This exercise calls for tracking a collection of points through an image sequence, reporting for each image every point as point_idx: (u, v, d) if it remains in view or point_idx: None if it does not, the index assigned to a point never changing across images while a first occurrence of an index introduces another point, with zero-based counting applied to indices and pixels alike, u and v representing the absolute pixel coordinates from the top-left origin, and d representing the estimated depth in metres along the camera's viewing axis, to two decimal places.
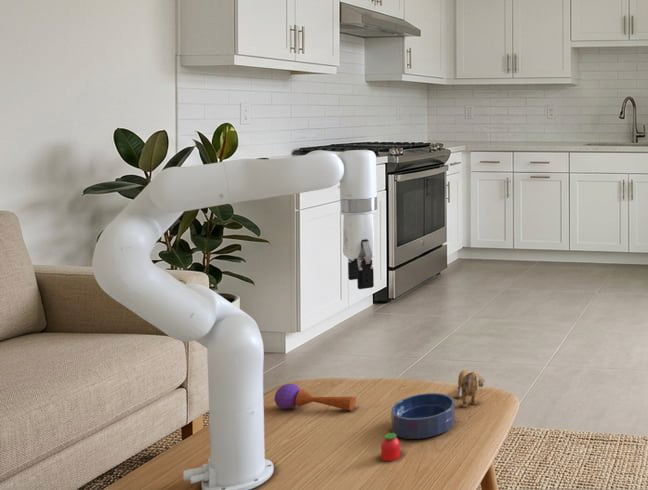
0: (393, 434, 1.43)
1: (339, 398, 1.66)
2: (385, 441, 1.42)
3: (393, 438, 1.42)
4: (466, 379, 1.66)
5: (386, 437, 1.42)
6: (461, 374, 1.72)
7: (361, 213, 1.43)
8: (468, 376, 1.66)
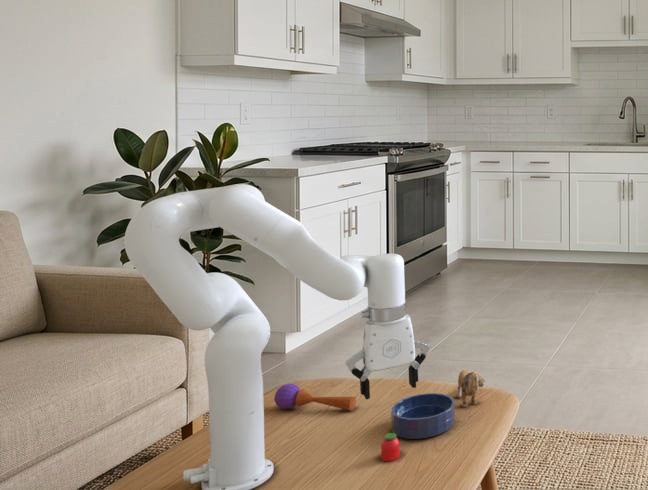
0: (393, 434, 1.43)
1: (339, 398, 1.66)
2: (385, 441, 1.42)
3: (393, 438, 1.42)
4: (466, 379, 1.66)
5: (386, 437, 1.42)
6: (461, 374, 1.72)
7: None
8: (468, 376, 1.66)
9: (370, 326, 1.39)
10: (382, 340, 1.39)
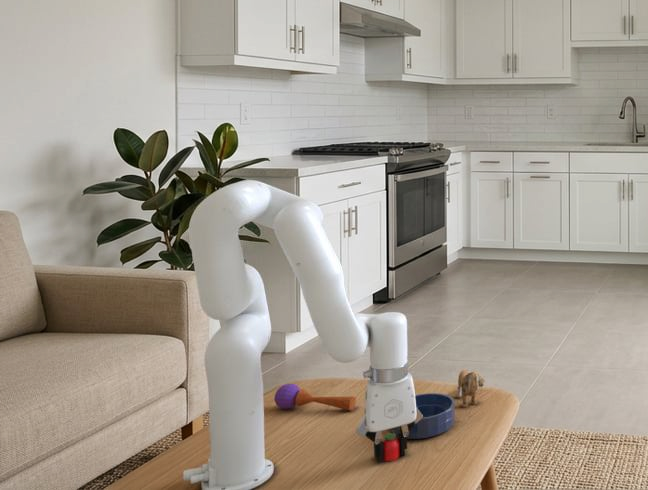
0: (393, 434, 1.43)
1: (339, 398, 1.66)
2: (385, 441, 1.42)
3: (393, 438, 1.42)
4: (466, 379, 1.66)
5: (386, 437, 1.42)
6: (461, 374, 1.72)
7: None
8: (468, 376, 1.66)
9: (372, 387, 1.39)
10: (384, 401, 1.39)
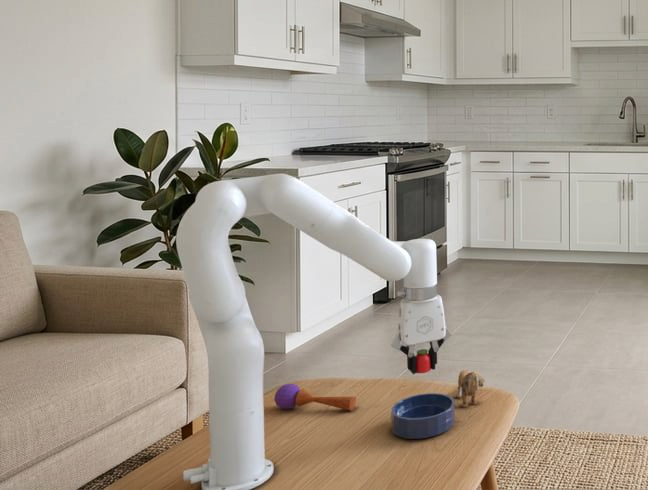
0: (424, 350, 1.56)
1: (339, 398, 1.66)
2: (417, 355, 1.55)
3: (425, 353, 1.55)
4: (466, 379, 1.66)
5: (418, 352, 1.55)
6: (461, 374, 1.72)
7: None
8: (468, 376, 1.66)
9: (406, 304, 1.52)
10: (416, 317, 1.52)
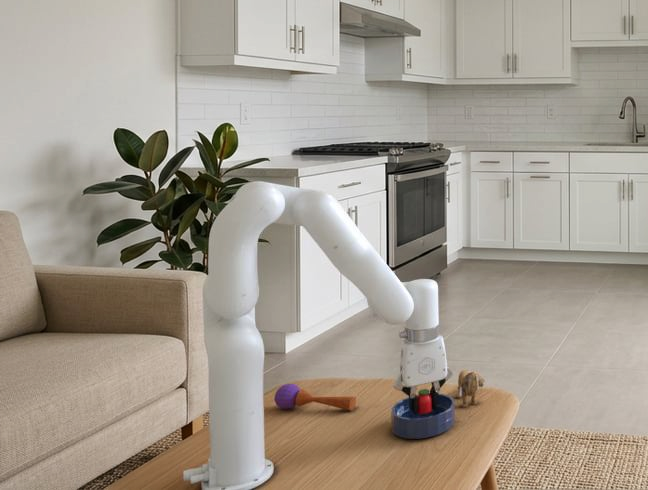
0: (426, 390, 1.57)
1: (339, 398, 1.66)
2: (419, 396, 1.56)
3: (426, 393, 1.56)
4: (466, 379, 1.66)
5: (420, 392, 1.56)
6: (461, 374, 1.72)
7: None
8: (468, 376, 1.66)
9: (407, 346, 1.52)
10: (418, 358, 1.53)
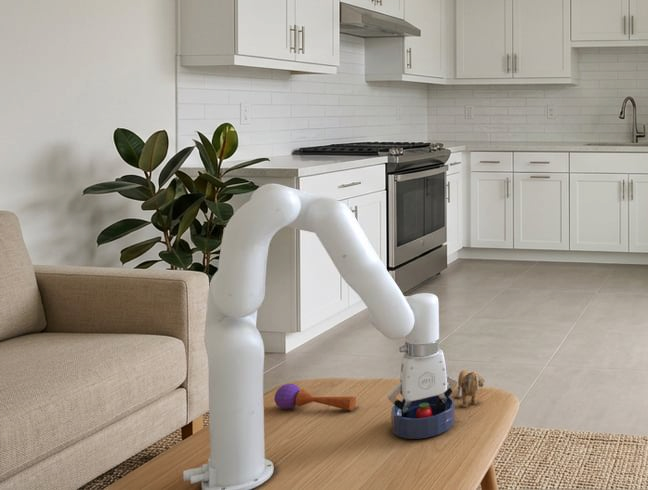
0: (426, 403, 1.57)
1: (339, 398, 1.66)
2: (419, 409, 1.56)
3: (427, 407, 1.56)
4: (466, 379, 1.66)
5: (420, 406, 1.56)
6: (461, 374, 1.72)
7: None
8: (468, 376, 1.66)
9: (408, 360, 1.52)
10: (418, 373, 1.53)
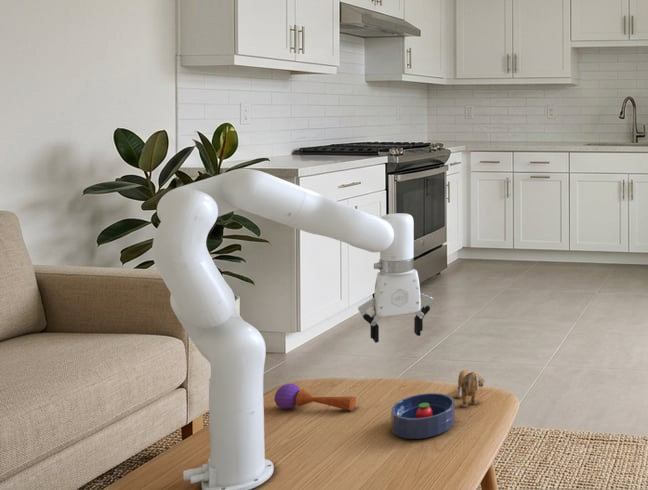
0: (426, 403, 1.57)
1: (339, 398, 1.66)
2: (419, 409, 1.56)
3: (427, 407, 1.56)
4: (466, 379, 1.66)
5: (420, 406, 1.56)
6: (461, 374, 1.72)
7: None
8: (468, 376, 1.66)
9: (381, 276, 1.54)
10: (391, 289, 1.55)
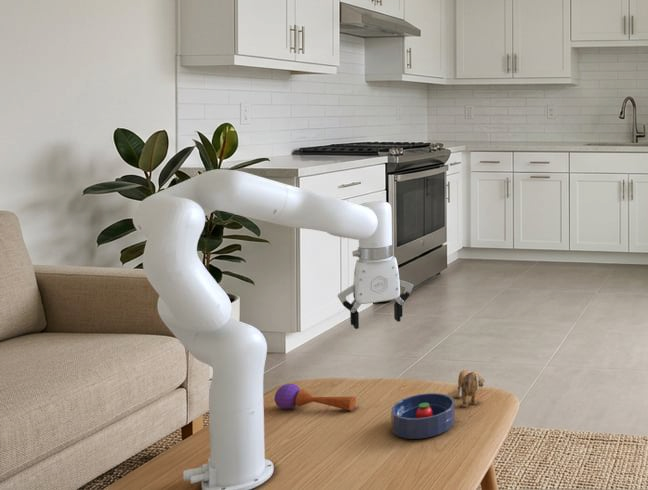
0: (426, 403, 1.57)
1: (339, 398, 1.66)
2: (419, 409, 1.56)
3: (427, 407, 1.56)
4: (466, 379, 1.66)
5: (420, 406, 1.56)
6: (461, 374, 1.72)
7: (392, 256, 1.62)
8: (468, 376, 1.66)
9: (360, 263, 1.56)
10: (370, 276, 1.57)
